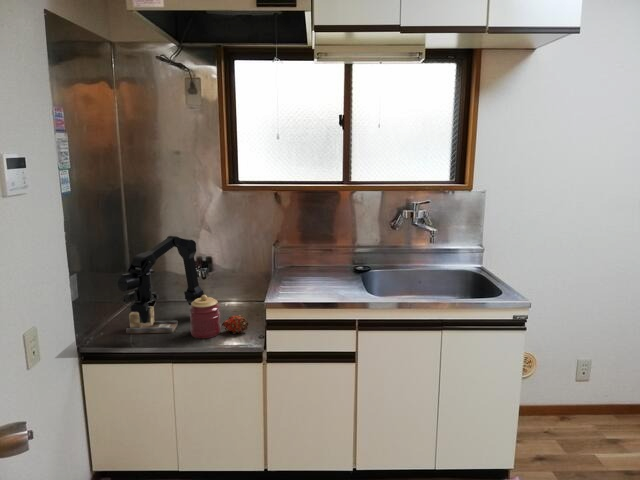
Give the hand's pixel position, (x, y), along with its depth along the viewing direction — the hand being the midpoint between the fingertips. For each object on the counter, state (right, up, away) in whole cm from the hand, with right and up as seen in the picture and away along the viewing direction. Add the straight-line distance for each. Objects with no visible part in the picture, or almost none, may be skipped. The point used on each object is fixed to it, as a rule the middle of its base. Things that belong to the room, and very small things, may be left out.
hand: (146, 320), depth 191 cm
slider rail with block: (-3, -6, +14) cm, 15 cm away
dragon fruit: (+36, -7, +10) cm, 38 cm away
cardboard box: (0, -1, +1) cm, 1 cm away
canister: (+23, -7, +9) cm, 26 cm away
